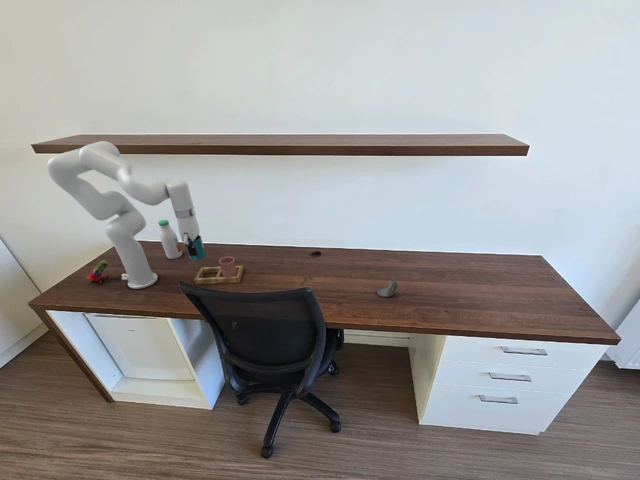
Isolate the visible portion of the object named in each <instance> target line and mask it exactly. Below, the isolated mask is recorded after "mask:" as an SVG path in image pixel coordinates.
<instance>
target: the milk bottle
mask: <svg viewBox="0 0 640 480" xmlns="http://www.w3.org/2000/svg"><path fill="white" fill-rule="evenodd" d="M157 224H158V225H159V228H160V232H159V237H160V242H161V244H162V247H163V250H164V253H165V256H166V258H167V259H169V260H174V259H175V260H176V259H179V258H181V257H182V255H183V252H182V248H181V245H180V242H179V239H178V236H177V234H176V232H175V231H174V230H173V229H172V228H171V226H170V222H169V220H168V219H161V220H159V221H158V223H157Z"/></svg>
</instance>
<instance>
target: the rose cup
mask: <svg viewBox="0 0 640 480" xmlns="http://www.w3.org/2000/svg"><path fill="white" fill-rule="evenodd" d="M218 263H219V267H221V271H222V275H223V276H222V277H234V276H237V273H238V272H237V270H236V266H237V265H236V261H235V257H233V256H224V257H222V258H220V259H219V260H218Z"/></svg>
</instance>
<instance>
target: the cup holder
mask: <svg viewBox="0 0 640 480" xmlns="http://www.w3.org/2000/svg"><path fill="white" fill-rule="evenodd" d="M236 270H237V276H234V277H223V275H222V271H221V267H220V266H202V267H200V268H199V270H198V272H197V274H196V276H195V277H194V279H193V281H194V284H195V285H210V284H211V285H213V284H214V285H215V284H233V283H235V284H237V283H240V282H241V280H242V277H243V273H244V272H245V267H244V265H236ZM216 273H217V274H216ZM205 274H216V276H215V277H213V276H212V277H203V276H204V275H205Z"/></svg>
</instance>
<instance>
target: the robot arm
mask: <svg viewBox="0 0 640 480" xmlns="http://www.w3.org/2000/svg"><path fill="white" fill-rule="evenodd" d="M46 170H47V173H48V175H49V177H50V179H51V180H52V181H53V182H54V183H55V184H56V185H57V186H58V187H59V188H60V189H62V190H63V191H65V192H66V193H67V194H69V195H70V196H71V197H72V198H73V199H74V200H75V201H76V202H77V203H78V204H79V205H80V206H81V207H82V208H83V209H85V211H86V212H88V213H89V214H90V216H92V217H93V218H94V219H95V220H97V221H106V220H109V219H110V218H111V219H112V218H113V217H114V216H115V215H117V217H115V218H114V219H112V220H111V221H110V222H109V223H108V224H107V225H106V226H105V234H106V236H107V239H109V241H110V242H111V243H112V245H113V247H114V248H115V250H116V252H117V254H118V257H119V258H120V261H121V263H122V266H123V267H124V269H125V271H126V273H122V274H121V280H122V281H127V286H128V288H130V289H134V290H139V289H144V288H148V287H150V286H152V285H154V284H155V283H156V282H157V281H158V279H159V277H158V274H157V273H155V272H153V271H152V269H151V266H150V264H149V262H148V259H147V256H146V254H145V252H144V249H143V246H142V245H141V243H140V242H139V241H138V240H137V239H135V236H136V235H137V234H139V233H140V232H141V231H143V230H144V229H145V228H146V225H147V221H146V218H145V216H144V215H143V214H142V213H141V212H140V210H138V209H137V208H136V207H135V206H134V204H133V203H132V202H131V201H130V200H129V199H128V198H127V197H126V196H125V195H124V194H123V193H120V192H119V191H116V190H106V191H104V192H102V193H101V192H100V191H99V190H98V189H97V188H96V187H95V186H94V185H93V184H91V183H90V182H89V181H87V180H85V179H83V178H81V177H78V176H79V175H82V174H85V173H87V172H90V171H92V170H94V171H96V172H98V173H99V174H101V175H103V176H106V177H108V178H110V179H111V180H114V181H115V182H117V183H118V184H119V185H120V187H121V189H122V190H123V191H124V192H125V194H127V195H128V196H129V197H130V198H132V199H134V200H136V201H138V202H140V203H142V204H145V205H147V206H152V207H153V206H159V204H161V203H163V202H164V201H166V200H168V199H170V203H171V206H172V209H173V213H174V215H175V218H176V222H177V228H178V233H179V236H180V239H181V242H183V245H184V246H185V248H186V247H187V248H186V250H187V249H188V251H187V253H188V252H189V254H188V256H189V255H190V256H197V255H198V254H197V251H196V247H194V240H195V239H196V237H197V236H198V235H200V232H201V231H200V226H199V223H198V219H197V217H196V215H197V214H196V209H195V206H194V202H193V199H192V196H191V191H190V188H189V184H188V182H187V181H186V180H183V179H175V180H173V179H170V178H169V179H168V178H159V179H156V180H155V181H152V182H150V183H148V184H147V185H146V184H144V183H142V182H140V181H138V180H137V179H135V178H133V177H132V174H133V166H132V164H131V162H129V161H127V160H126V159H123V158H122V157H121V153H120V151H119V149H118V148H117V146H116V145H115V144H113V143H111V142H110V141H105V140H101V141H97V142H93V143H89V144H85V145H84V146H82V147H79V148H76V149H73V150H69V151H65V152H62V153H58V154H56V155H54V156H52V157H51V158H49V160H48V161H47V163H46ZM188 239H191V240H188ZM189 242H191V243H192V245H191V244H189Z"/></svg>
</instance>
